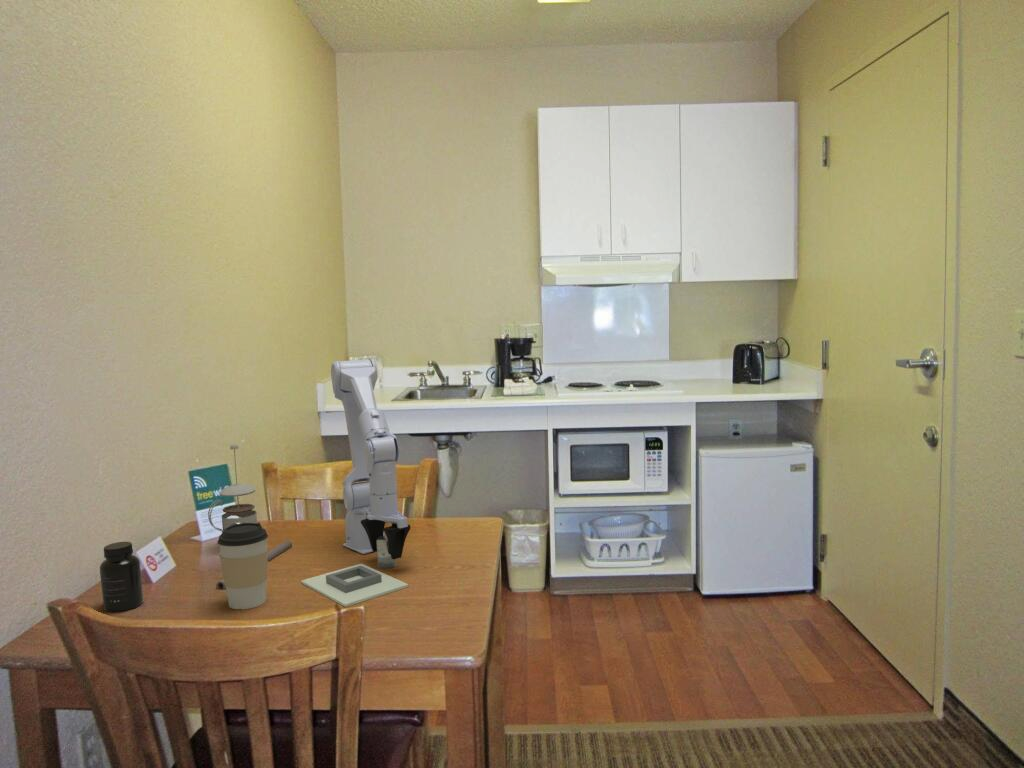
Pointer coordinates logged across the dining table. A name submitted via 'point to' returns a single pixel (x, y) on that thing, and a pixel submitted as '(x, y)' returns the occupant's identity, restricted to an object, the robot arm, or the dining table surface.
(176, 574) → the dining table surface
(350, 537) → the robot arm
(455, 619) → the dining table surface
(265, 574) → the coffee cup
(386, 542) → the key peg
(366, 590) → the socket
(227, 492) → the french press
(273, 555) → the metal rod
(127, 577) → the supplement bottle
